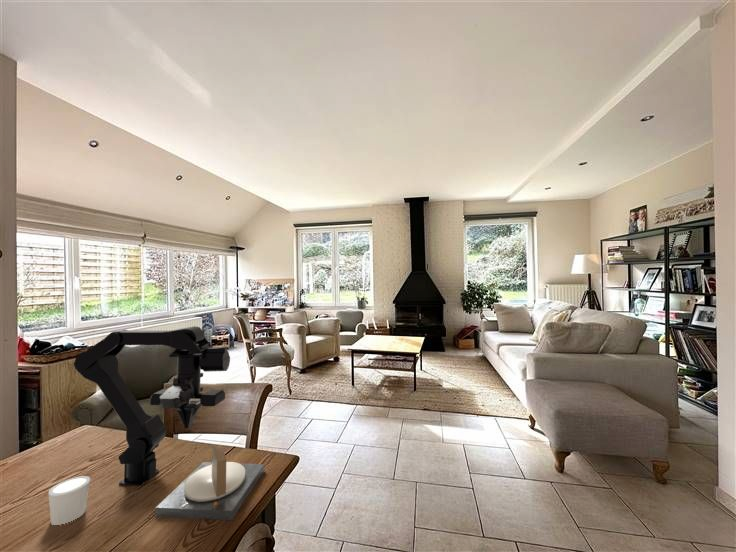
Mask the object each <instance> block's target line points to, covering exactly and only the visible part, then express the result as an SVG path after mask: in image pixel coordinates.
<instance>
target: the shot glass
mask: <svg viewBox="0 0 736 552" xmlns="http://www.w3.org/2000/svg"><path fill="white" fill-rule="evenodd" d="M90 483H91V477H89V476H87V475H86V476H85V475H84V476H83V475H80V476H75V477H72V478H68V479H65V480H63V481H61V482H59V483H57V484H56V485H54V486H52V487H51V488H50V489H49V490H48V502H49V503H48V505H49V514H50V525H52V526H53V525H60V526H62V525H61V524H64V525H66V524H65V523H67V524H69V523H68V522H70V523H72V522H74V521H76V520H78V519H79V518H80V517H82V516H83V515H84V514H85V512H86V508H87V502H88V497H89V489H90ZM77 518H78V519H77ZM75 519H76V520H75ZM73 520H74V521H73ZM71 521H72V522H71Z"/></svg>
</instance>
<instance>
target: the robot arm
mask: <svg viewBox="0 0 736 552" xmlns="http://www.w3.org/2000/svg"><path fill="white" fill-rule="evenodd" d="M126 346H165V347H169V348H171V349H174V350H173V351H172V352H171V353H170V354H168V357H169V358H177V363H176V364H177V367H176V368H177V371H176V377H174V378H173V380H172V385H171V386H170V387H168V388H162V389H160V390H158V391H156V392H154V393H152V394H151V396H150V398H149V405H150V406H160V405H161V408H162V409H172V410H175V411H177V414H178V415H179V418H180V419H181V421H182V424H183V427H184V429H190V428H191V426H192V423H193V422H194V420H195V417H196V415H197V413H198V411H199V409H200V408H201V406H202V407H216V406H217V405H218V404H220V403H221V402H223V401H224V400H225V399H226V392H225V391H224V389H214V388H213V389H210V390H209V391H208V390H207V392H204V393H201V392H202V391H203V390H204V387H203V386H201V378H203V377H204V372H206V373H207V372H227V371H228V369H229V367H230V363H231V362H230V361H231V356H230V352H229V351H228V346H220V347H219V346H217V347H213V345H212V344H211V342H210V341H208V339H207V338H206V336H205V332H204V330H203V329H202V328H201V327H199V326H196V325H194V326H188V327H183V328H182V327H181V328H176V329H172V330H128V329H121V330H116V331H111V332H110V333H109V334H108V335H107V336H106V337H104V338H102V340H100V341H99V342H97V343H95V344H94V345H92V346H91V347H89V348H88V349H87V350H85V351H83V352H80V353H79V354H78V355H76V357H75V359H74V362H73V367H74V369H75V370H76V371H77V372H78V373H79V374H80V375H81V376H82V377H83V379H86V380H89V381H90V382H92V383H94V384H96V385H97V386H98V388H99V389H100V391H101V393H102V394H103V395H104V397H105V398H106V400H107V401H108V402H109V404H110V405H111V406H112V408H113V410H114V411H115V413H116V414H117V416H118V417H119V418H120V420H121V421H122V424H123V425H124V426H125V429H126V430H125V433H126V435H125V436H126V437H125V438H126V439H125V440H126V444H127V445H128V447H127V448H126V449H124V450H123V452H122V453H121V454H119V455H118V457H117V458H118V461H119V463H120V465H124V472H123V473H124V474H123V475H124V476H123V479H121V480H120V481H119V482H118V485H120V486H140V487H141V486H143V485H144V484H145V483H146V482H147V481H149V480H150V479H152V477H154V476H155V475H156V474H158V473H159V471H160V469H159V468H157V458H156V451H154V450H155V449H156V448H158V447H159V446H160V443H161V442H162V441H163V440H164V439H165V436H166V433H167V429H166V426H167V424H165V423H164V422H163V421H162V418H161V416H160V415H159V414H155V415H154V416H151V415H148V414H147V413H146V411H145V410H144V409H143V407H142V406H141V405H140V403H139V401H138V400H137V398H136V396H134V394H133V392H132V391H131V390H130V388H129V387H128V385H127V384H126V382H125V380H124V379H123V378H122V376H121V375H120V374H119V373H120V372H119V361H118V358H117V356H118V355H119V354H121V352H123V350H124V348H125V347H126ZM202 370H203V372H202Z"/></svg>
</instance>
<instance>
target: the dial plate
mask: <svg viewBox="0 0 736 552" xmlns="http://www.w3.org/2000/svg"><path fill="white" fill-rule="evenodd" d="M238 463H239V462H238ZM239 464H241V465H242V466H243V467H244V468H245V479H244V481H243V483H242V484H241V485H240V486H239V487H238V488H237V489H236V490H235V491H233V492H232V493H230V494H228V495H226V496H224V497H221V498H219V499H215V500H211V501H204V502H197V501H192V500H189V499H188V498H186V496H185V495H184V485H185V482H186V481H187V479H188V478H189V477H190V476H191V475H192V474H194V473H195V472H196V471H198V470H200V469H202V468H204V467H206V466H209V465H212V461H211V462H210V461H208V462H207V461H206V462H205V461H203V462H202V463H201V464H200V465H199V466H198V467H197V468H196V469H195V470H193V471H192V472H191V473H190V474H189V475H188V476H187V477H186V478H185V479H184V480H182V481H181V483H180V484H179V485H178V486H176V488H175V489H173V491H172V492H170V493H169V494H168V495H167V496H166V497H165V498H164V499H163V500H162V501H161V502H160V503H158V504H157V506H156V507H155V516H154V517H157V518H176V519H177V518H179V519H181V518H182V519H198V520H199V519H200V520H222V521H232V520H233V519H234V517H235V515H237V513H238V511H239V510H240V508H241V507H242V505H243V504H244V502H245V501H246V499H247V498H248V496H249V494H250V493H251V492H252V490H253V489H254V487H255V486H256V484H257V483H258V481H259V480H260V478H261V477H262V475H263V474H264V473H265V464H264V463H239Z"/></svg>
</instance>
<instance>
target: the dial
mask: <svg viewBox="0 0 736 552" xmlns="http://www.w3.org/2000/svg"><path fill="white" fill-rule="evenodd" d="M211 449H212V451H211V453H212V455H211V462H212V465H209V466H206V467H204V468H202V469H200V470H198V471H196V472H195V473H194V474H192V475H191V476H190V477H189V478H188V479H187V481H186V482H185V485H184V495H185V496H186V498H188V499H189V500H192V501H197V502H204V501H211V500H215V499H219V498H221V497H224V496H226V495H228V494H230V493H232V492H233V491H235V490H236V489H237V488H238V487H239V486H240V485H241V484H242V483H243V481H244V479H245V468H244V467H243V466H242V465H241V464H239V462H236V461H235V462H234V461H227V457H226V455H225V451H224V449H223V446H222V444H219V445H215V446H212V447H211Z"/></svg>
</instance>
